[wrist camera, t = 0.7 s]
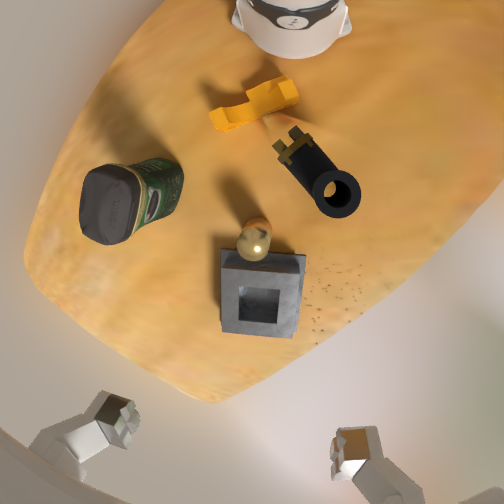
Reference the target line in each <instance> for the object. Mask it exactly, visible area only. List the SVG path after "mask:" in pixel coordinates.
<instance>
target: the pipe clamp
mask: <svg viewBox="0 0 504 504" xmlns="http://www.w3.org/2000/svg"><path fill="white" fill-rule="evenodd" d="M245 92H246V94H247V96H248V98H249V100H250V101H249V102H247V103H244V104H241V105H237V106H233V107H220V108H217V109H215V110H213V111H211V112H209V115H210V117H211V119H212V122H213V124H214V126H215V128H216V129H217V130H220V131H223V132H227V131H230V130H232V129H234V128H236V127H239V126H241V125H243V124H246V123H248V122H251V121H253V120H255V119H258V118H260V117H263V116H265V115H268V114H270V113H273V112H276V111H278V110H281V109H284V108H286V107H289V106H292V105H295V104H297V103H298V99H299V94H298V92H297V89H296V87H295V85H294V83H293V81H292V79H288V77H287V75H283V76H280V77H277V78H274V79H272V80H269V81H266V82H264V83H262V84H260V85H258V86H256V87H254V88H252V89H250V90H248V91H245Z"/></svg>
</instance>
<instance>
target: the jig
mask: <svg viewBox="0 0 504 504" xmlns="http://www.w3.org/2000/svg"><path fill="white" fill-rule="evenodd" d="M305 263H306V255H303V254H290V253H277V252H268V253H267V255H266V256H265V257H264V258H263V259H261V260H259V261H248V260H246V259H244V258H243V257H242V256H241V255H240V254H239V253H238V250H237V249H224V248H222V249H221V326H222V332H227V333H236V334H245V335H255V336H266V337H278V338H291V339H292V335H293V332H297V325H298V318H299V311H300V304H301V296H302V288H303V280H304V272H305Z"/></svg>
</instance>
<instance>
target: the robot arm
mask: <svg viewBox="0 0 504 504" xmlns="http://www.w3.org/2000/svg"><path fill="white" fill-rule="evenodd" d="M347 12H348V7H347V6H346V5H345V2H344V0H237V1H236V8H235V11H234V13H233V16H232V20H231V21H232V25H233V26H234V27H235V28H237V29H239V30H241V31H243V32H245V33H246V34H247V35H248V36H249V37H250V38H251V39H252V41H253V42H254V43H255V44H256V45H257V46H258V47H260V48H261V49H262V50H264V51H266V52H268V53H270V54H272V55H275V56H278V57H282V58H288V59H303V58H309V57H312V56H315V55H318V54H320V53H322V52H323V51H325V50H326V49H328V48H329V47H330V46H331V45H332V43H333V42H334V41H335V40H336V39H338V38H340V37H343V36H345V35H347V34H349V33H350V32H351V30H352V25H351V22H350V19H349V16H348V13H347ZM344 22H345V23H344ZM135 406H136V405H135V403H134V401H133V400H129V399H126V398H123V397H120V396H117V395H114V394H112V393H109V392H106V391H103V390H102V391H101V392H99V393H98V395H97V396H96V398H95V399H94V400H93V402H92V403H91V405H90V406H89V407H88V409H87V410H86V412H85V413H84V414H79V415H77V416H74V417H72V418H70V419H67V420H65V421H62V422H60V423H58V424H55V425H53V426H50V427H48V428H45V429H43V430H41V431H40V433H39V434H38V435H37V437H36V438H35V439H34V441H33V442H32V443H31V445H30V446H29V447H28V448H26V447H25V446H24V445H22V444H21V443H20V442H18V441H17V440H16V439H14V438H13V437H12V436H11V435H9V434H8V433H7V432H6V431H4V430H3V429H2V428H1V427H0V504H130V503H128V502H125V501H123V500H120V499H118V498H115V497H113V496H111V495H108V494H106V493H104V492H102V491H100V490H97V489H95V488H93V487H91V486H89V485H87V484H85V483H83V480H84V478H85V477H86V475H87V471H86V470H85V468H83V466H82V465H81V464H80V463H81V462H83V461H85V460H86V459H88V458H90V457H91V456H93V455H95V454H96V453H98V452H99V451H101V450H103V449H104V448H106V447H107V446H109V445H110V444H112V445H115V446H117V447H120V448H123V449H127V448H128V446H129V444H130V442H131V441H132V435H131V434H132V433H134V432H136V431H137V429H138V427H139V422H140V415H139V413H138V411H137V410H135V409H134V408H135ZM330 459H331V460H332V461H333V462H334V463H333V465H332V466H331V478H332V480H352V481H353V483H354V484H355V485H356V486H357V488H358V489H359V490H360V492H361V493H362V494H363V495H364V496H365V498H366V499H367V500H368V501H369V503H370V504H425V500H424V495H423V491H422V488H421V487H420V486H419V485H417V484H416V483H415V482H414V481H413V480H412V479H410V478H409V477H408V476H407V475H406V474H405V473H404V472H403V471H401V470H400V469H399V468H398V467H397V466H396V465H395V464H394V463H393V462H392V461H390V460H389V459H388V458H384V456H383V452H382V447H381V442H380V439H379V434H378V429H377V427H376V426H365V427H363V426H361V427H344V428H338V429H337V432H336V437H335V438H333V440H332V443H331V447H330ZM456 504H504V490H503V489H501V488H499V487H492V488H490V489H487V490H485V491H483V492H481V493H479V494H477V495H475V496H473V497H471V498H468V499H466V500H463V501H461V502H458V503H456Z"/></svg>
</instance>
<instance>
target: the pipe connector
mask: <svg viewBox="0 0 504 504" xmlns="http://www.w3.org/2000/svg"><path fill="white" fill-rule="evenodd" d="M288 133H289V134H290V135H289V136H290V137H291V138H292V139H293V140H294V143H292V144H291V145H290V146H289V147H287V146H286V145H285V144H284V143H283V142H282V141H281V140H280V139H279V140H278V141H277V142H276V143H274V144H273V145H272V147H273V148H274V149H275V150H276V151H277V152H278V153H279V155H280V156H279V157H278V160H279V162H280V163H281V164H284V165H285V166H286V168H287V169H288V170H289V171H290V172H291V173H292V174H293V176H294V177H295V178H296V179H297V180H298V181H299V182H300V184H301V185H302V186H303V187H304V188H305V189H306V191H307V192H308V193H309V194H310V195H311V197H312V198H313V199H314V200H315V203H316V205H317V207H318V208H319V210H320V211H321V212H322V213H324V214H325V215H327V216H329V217H332V218H344V217H347V216H349V215H351V214H352V213H353V212H354V211H355V210H356V209H357V208H358V206H359V204H360V200H361V189H360V186H359V183H358V182H357V180H356V179H355V178H354V177H353V176H352V175H351V174H349V173H347V172H345V171H341V170H338V168H337V167H336V166H335V165H334V164H333V162H332V161H331V160H330V159H329V158H328V157H327V155H326V154H325V153H324V152H323V151H322V150H321V149H320V147H319V146H318V145H317V144H316V143H315V142H314V141H313V140H312V139H313V138H312V137H311V136H310V135H309V133H306V134H304V133H303V132H302V131H301V130H300V129H299V128H298V127H297V126H295V127H293V128H292V129H291V130H290V131H289V132H288ZM332 181H333V182H334V183H335V185H336V191H335V193H334V194H333V195H332V196H331V197H324V190H325V187H326V186H327V185H328V184H329V183H330V182H332Z"/></svg>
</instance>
